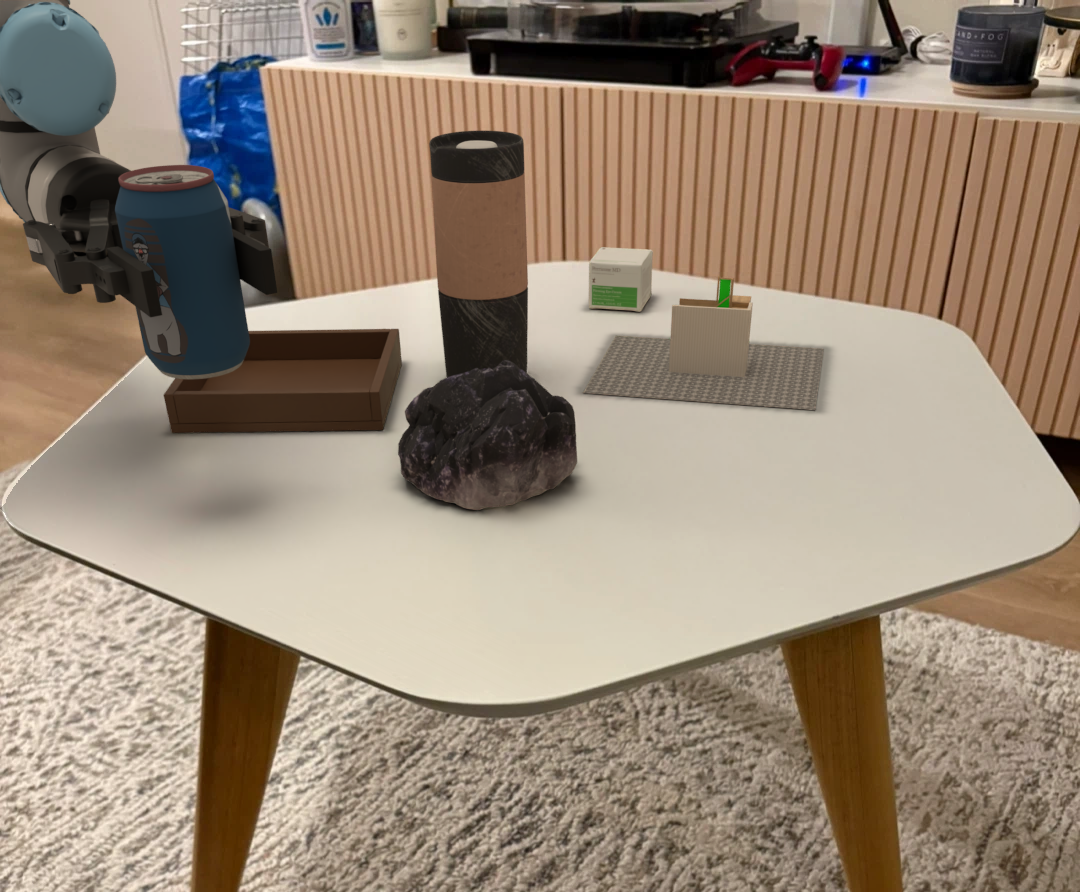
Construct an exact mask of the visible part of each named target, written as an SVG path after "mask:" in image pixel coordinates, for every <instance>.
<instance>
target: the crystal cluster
mask: <svg viewBox="0 0 1080 892" xmlns="http://www.w3.org/2000/svg"><path fill="white" fill-rule="evenodd" d="M404 415H405V419H406V421H407V424H408V427H407V429H406V430H405V431H404V432H403V434H402V436H401V437H400V439H399V441H398V444H397V455H398V458H399V461H400V474H401V475H402V477H403V478H404V479H405V481H408V482H409V483H411V484H412V485H414V486H415V487H416V489H418V490H420V491H421V492H422V493H423V494H425V495H427V496H430V497H431V498H434V499H435V500H440V501H443V502H445V503H450V504H451V503H452V504H456V506H459V507H460V508H464V509H467V510H474V511H481V510H483V509H486V508H497V507H506V506H511V505H515V504H518V503H519V502H522V501H526V500H527V501H528V499H530V498H533V497H535V496H539V495H542V494H543V493H545V492H547V491H549V490H554V489H555V488H556V487H558V486H559V485H560V483H562V482H563V481H564V480H565V479H566V478H567V477H570V475H571V474H572V473H573V472H574V471H575V468H576V465H577V464H578V449H577V431H576V418H575V417H576V415H575V410H574V406H573V405H572V404H571V403H570V402H569V401H568V400H567V399H566V398H565V397H564V396H560V395H552V393H551V392H549V391H548V390H547V388H545V387H544V386H543V385H542V384H541V383H539V382H538V381H537V380H536V378H534V377H532V376H531V375H530V374H528V372H527V373H526V372H525V371H523V370H521V369H520V368H519V367H518V366H517V365H515V364H514V363H513V362H511V361H509V360H503V361H502V362H501V363H500V364H499V365H498V366H496V367H495V368H493V369H491V368H488V369H487V368H484V369H478V368H475V369H473V370H471V371H468V372H465V373H461V374H457V375H453V376H450V377H448V378H447V377H445V378H443V379H440V380H438V381H437V383H435V384H434V385H433V386H429V387H426V388H424V389H422V390H421V392H419V394H417V395H416V396H415V397H413V399H412V400H411V401H410V403H409V404H408V405H407V406H406V408H405V410H404Z"/></svg>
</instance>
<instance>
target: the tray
mask: <svg viewBox="0 0 1080 892" xmlns="http://www.w3.org/2000/svg"><path fill="white" fill-rule="evenodd" d="M248 331H249V338H250V344H249V348H248V351H247V353H246V356H245V358H244V360H243V363H242V365H241V366H240V367H239V368H238V369H236V370H234V371H232V372H230V373H227V374H224V375H221V376H217V377H211V378H205V379H177V378H173V380H172V382H171V383H170V385H169V386H168V387H167V388H166V391H165V392H164V393H163V399H164V405H165V410H166V413H167V418H168V419H167V420H168V423H169V427H170V432H171V434H177V433H178V434H180V433H182V434H185V433H187V434H189V433H194V434H195V433H255V432H256V433H257V432H258V433H259V432H260V433H261V432H264V433H265V432H267V433H268V432H324V431H325V432H334V431H335V432H336V431H338V432H339V431H342V432H343V431H383V430H384V427H385V424H386V421H387V417H388V413H389V410H390V407H391V404H392V400H393V396H394V392H395V389H396V386H397V382H398V380H399V379H398V378H399V374H400V371H401V368H402V364H403V362H402V361H403V360H402V358H403V357H402V348H401V337H400V329H399V328H356V329H355V328H354V329H353V328H352V329H351V328H350V329H349V328H348V329H342V328H341V329H291V330H290V329H288V330H287V329H286V330H285V329H284V330H281V329H279V330H277V329H276V330H248Z"/></svg>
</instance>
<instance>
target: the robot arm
mask: <svg viewBox="0 0 1080 892" xmlns="http://www.w3.org/2000/svg"><path fill="white" fill-rule="evenodd" d="M70 5H71V0H0V195H1V196H2V198H3V199H4V200H5V202H6V204H7V205H8V206H10V208H11V209H12V212H13V213H14V214H16V215H17V216H18V218H19V219H20V220H22V221H23V223H22V228H23V231H24V235H25V238H26V242H27V246H28V249H29V254H30V258H31V261H32V262H33V263H36V264H39V265H42V266H45V267H46V269H47V270H48V272H49V273H50V275H51V276H52V278H53V279H54V281H55V282H56V284H57V285H58V286H59V288H60V289H61V291H62V292H63V293H64V294H68V295H75V294H78V293H81V292H83V286H82V285H93V286H92V287H93V292H94V294H95V300H96V302H97V303H99V304H108V303H113V302H115V301H116V300H117V297H116V296H121V297H122V298H123V299H125V300H126V301H128V302H129V303H130V304H131V305H133V306H134V307H135V306H136V307H137V308H138V309H140V310H141V311H142V312H144V313H145V314H146V315H148V316H149V317H155V316H161V315H162V311H161V306H160V301H159V296H158V291H157V286H156V281H155V276H154V271H153V269H151V268H150V267H148V266H147V265H145V264H144V263H142V262H141V261H139V260H138V259H136V258H135V257H133V256H132V255H130V254H129V253H127V252H126V251H124V250H123V246H122V241H121V237H120V232H119V227H118V222H117V218H116V213H115V205H116V201H117V197H118V194H119V190H120V184H119V177H120V176H121V175H122V174H124V173H126V172H129V171H132V170H131V169H129V168H127V167H125V166H123V165H121V164H119V163H117V162H116V161H115V160H113V159H111V158H109V157H106V156H104V155H102V154H101V151H100V150H101V149H100V145H99V141H98V136H97V131H96V128H95V127H97V126H98V125H99V124H100V123H101V122H103V120H104V119H105V118H106V116H107V115H108V114H109V113H110V112H111V111H110V110H111V108H112V106H113V105H114V104H113V103H114V101H115V97H116V92H117V72H116V67H115V63H114V60H113V57H112V54H111V51H110V50H109V48H108V46H107V43H106V41H104V39H103V38H102V36H101V35H100V32H99V30H98V29H97V28H96V27H95V26H94V25H93V24H92V23H91V22H90V21H89V20H88V19H86V18H85V17H84V16H83V15H81V14H80V13H79V12H77V10H75V9H73V8H72V7H70ZM228 207H229V213H230V220H231V226H232V232H233V238H234V244H235V251H236V257H237V263H238V269H239V276H240V281H241V282H244V283H245V284H247V285H249V286H250V287H252V288H254V289H255V290H257V291H259V292H260V293H262V294H264V295H265V296H268V295H275V294H278V287H277V281H276V273H275V272H276V271H275V267H274V266H275V265H274V260H273V252H272V248H271V247H270V244H269V239H268V231H267V224H266V220H265V219H263V218H260V217H257V216H255V215H251V214H249V213H246V212H243V211H241V210H238V209H235V208H232V207H230V206H228Z"/></svg>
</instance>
